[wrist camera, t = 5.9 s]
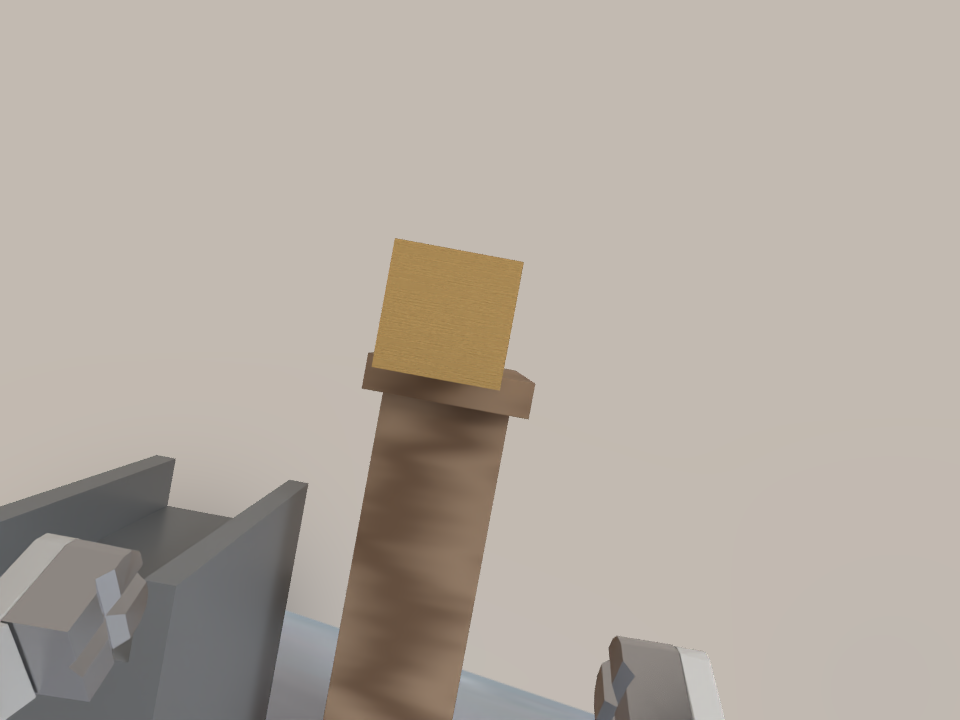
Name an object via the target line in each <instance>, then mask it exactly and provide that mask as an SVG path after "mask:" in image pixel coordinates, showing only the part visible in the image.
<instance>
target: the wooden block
mask: <svg viewBox="0 0 960 720" xmlns="http://www.w3.org/2000/svg"><path fill="white" fill-rule="evenodd" d="M522 269H523V262H520V261H515V260H509V259H504V258H499V257H493V256H487V255H483V254H477V253H471V252H466V251H461V250H455V249H450V248H445V247H440V246H434V245H429V244H423V243H417V242H413V241H407V240H402V239H397V238H395V241H394V247H393V253H392V258H391V263H390V269H389V275H388V280H387V285H386V291H385V297H384V302H383V308H382V313H381V318H380V323H379V330H378V334H377V340H376V345H375V351H374V356H373V362H372V367H375V368H380V369H386V370H391V371H396V372H402V373H407V374H413V375H418V376H423V377H429V378H434V379H439V380H445V381H450V382H456V383H461V384H466V385H472V386H477V387H482V388H488V389H493V390H499V391H500V387H501V382H502V376H503V371H504V365H505V360H506V355H507V349H508V344H509V339H510V333H511V328H512V323H513V317H514V312H515V307H516V301H517V295H518V290H519V285H520V279H521V274H522Z"/></svg>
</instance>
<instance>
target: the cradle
mask: <svg viewBox="0 0 960 720" xmlns="http://www.w3.org/2000/svg"><path fill="white" fill-rule="evenodd" d="M174 465H175V459H174V458H169V457H163V456H158V455H156V456H153V457H150V458H147V459H144V460H141V461H138V462H135V463H131V464H128V465H126V466H122V467H119V468H116V469H113V470H110V471H107V472H104V473H101V474H98V475H95V476H92V477H89V478H86V479H83V480H80V481H77V482H74V483H71V484H68V485H65V486H61V487H58V488H56V489H52V490H49V491H46V492H43V493H40V494H37V495H34V496H31V497H28V498H25V499H22V500H19V501H16V502H13V503H10V504H7V505H4V506H1V507H0V577H1V576H2V575H3V574H4V573H5V572H6V571H7V570H8V568H9V567H10V566H11V565H12V564H13V563H14V562H15V561H16V560H17V559H18V558H19V557H20V556H21V554H22V553H23V552H24V551H25V550H26V549H27V548H28V547H29V546H30V545H31V544H32V543H33V542H34V541H35V540H36V539H37V538H39V537H41V536H43V535H45V534H46V533H50V534H56V535H61V536H67V537H72V538H78V539H81V540H86V541H91V542H96V543H102V544H107V545H112V546H117V547H122V548H127V549H132V550H137V551H140V554H141V558H142V562H143V565H142V567H141V568H140V570H139V571H138V574H139V575H140V576H141V577H142V578H143V579H144V580H145V581H146V582H147V588H148V598H147V605H146V608H145V611H144V613H143V616H142V619H141V621H140V623H139V625H138V627H137V628H136V630H135V631H134V633H133V635H132V636H131V638H130V639H128V640H127V641H125V642H123V643H122V644H120V645H119V646H117V647H115V648H114V649H113V653H114V665H113V666H112V668H111V669H110V671H109V672H108V674H107V675H106V677H105V679H104V680H103V682H102V683H101V685H100V686H99V688H98V689H97V691H96V693H95V694H94V696H93V697H92V699H91V700H90V702H87V701H80V700H73V699H67V698H60V697H53V696H47V695H40V694H35V695H36V698H34V699H33V700H32V701H30V702H29V703H28V704H26V705H25V706H24V707H22V708H21V709H19V710H18V711H17V712H15V713H14V714H13V715H11V716H10V717H9V718H7V719H6V720H265V719H266V714H267V708H268V703H269V697H270V692H271V686H272V681H273V675H274V670H275V664H276V659H277V653H278V648H279V642H280V637H281V631H282V626H283V620H284V615H285V609H286V603H287V598H288V592H289V586H290V581H291V576H292V570H293V565H294V559H295V553H296V548H297V542H298V537H299V532H300V526H301V520H302V515H303V509H304V504H305V498H306V493H307V488H308V483H303V482H298V481H293V480H288V481H287V482H286V483H284V484H283V485H281V486H280V487H278V488H277V489H275V490H274V491H272V492H271V493H269V494H268V495H266V496H265V497H264V498H262V499H261V500H259V501H258V502H256V503H255V504H253V505H252V506H250V507H249V508H247V509H246V510H245V511H243V512H242V513H240V514H239V515H237V516H236V517H234V518H229V517H224V516H218V515H213V514H208V513H202V512H197V511H191V510H186V509H181V508H175V507H170V506H167V504H168V499H169V493H170V487H171V481H172V476H173V470H174Z"/></svg>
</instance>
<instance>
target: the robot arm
mask: <svg viewBox="0 0 960 720" xmlns="http://www.w3.org/2000/svg"><path fill="white" fill-rule="evenodd" d="M142 565H143V562H142V558H141V554H140V551H137V550H132V549H127V548H122V547H117V546H112V545H107V544H102V543H96V542H91V541H86V540H81V539H78V538H72V537H67V536H61V535H56V534H50V533H46V534H45V535H43V536H41V537H39V538H37V539H36V540H35V541H34V542H33V543H32V544H31V545H30V546H29V547H28V548H27V549H26V550H25V551H24V552H23V553H22V554H21V556H20V557H19V558H18V559H17V560H16V561H15V562H14V563H13V564H12V565H11V566H10V567H9V568H8V570H7V571H6V572H5V573H4V574H3V575H2V576H1V577H0V720H6V719H7V718H9V717H10V716H11V715H13V714H14V713H15V712H17V711H18V710H19V709H21V708H22V707H24V706H25V705H26V704H28V703H29V702H30V701H32V700H33V699H34V698H36V695H35V694H40V695H47V696H53V697H60V698H67V699H73V700H80V701H87V702H90V700H91V699H92V697H93V696H94V694H95V693H96V691H97V689H98V688H99V686H100V685H101V683H102V682H103V680H104V679H105V677H106V675H107V674H108V672H109V671H110V669H111V668H112V666H113V665H114V653H113V649H114V648H115V647H117V646H119V645H120V644H122V643H123V642H125V641H127V640H128V639H130V638H131V636H132V635H133V633H134V631H135V630H136V628H137V627H138V625H139V623H140V621H141V619H142V616H143V613H144V611H145V608H146V605H147V598H148V588H147V582H146V581H145V580H144V579H143V578H142V577H141V576H140V575H139V574H138V571H139V570H140V568H141V567H142ZM609 657H610V660H608V661H606V662H604V663H603V664H602V665H601V667H600V670H599V673H598V675H597V681H596V686H595V695H594V711H595V720H725V718H724V714H723V710H722V707H721V702H720V698H719V694H718V690H717V686H716V682H715V678H714V674H713V670H712V666H711V662H710V658H709V657H708V656H707V654H706V652H704V651H701V650H694V649H687V648H682V647H675V646H673V645H670V644H663V643H658V642H651V641H645V640H640V639H633V638H627V637H620V636H616V637H615V638H613V640H612V642H611V644H610V646H609Z"/></svg>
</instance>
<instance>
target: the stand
mask: <svg viewBox="0 0 960 720" xmlns="http://www.w3.org/2000/svg"><path fill="white" fill-rule="evenodd" d="M373 356H374V352H373V353H368V357H367V363H366V369H365V374H364V379H363V385H362V389H368V390H373V391H379V392H383V395H382V401H381V406H380V412H379V417H378V423H377V428H376V434H375V439H374V445H373V450H372V456H371V461H370V466H369V472H368V478H367V484H366V488H365V494H364V499H363V505H362V510H361V516H360V522H359V527H358V532H357V537H356V543H355V548H354V554H353V559H352V565H351V570H350V576H349V581H348V588H347V592H346V598H345V603H344V608H343V614H342V620H341V625H340V630H339V636H338V641H337V647H336V652H335V658H334V663H333V669H332V674H331V679H330V685H329V690H328V696H327V701H326V707H325V712H324V718H323V720H452V718H453V713H454V708H455V702H456V697H457V692H458V686H459V681H460V676H461V670H462V665H463V659H464V654H465V649H466V643H467V638H468V633H469V628H470V622H471V617H472V612H473V606H474V601H475V595H476V590H477V584H478V579H479V574H480V569H481V563H482V558H483V552H484V547H485V542H486V537H487V531H488V526H489V521H490V515H491V510H492V505H493V499H494V493H495V489H496V483H497V478H498V472H499V467H500V462H501V457H502V451H503V445H504V441H505V435H506V430H507V425H508V419H509V416H513V417H519V418H524V419H529V414H530V408H531V403H532V397H533V393H534V387H535V383H533V382H532V381H530V380H529V379H527V378H526V377H524V376H523V375H521V374H520V373H518V372H517V371H514V370H509V369H504V371H503V376H502V382H501V387H500V391H499V390H493V389H488V388H482V387H477V386H472V385H466V384H461V383H456V382H450V381H445V380H439V379H434V378H429V377H423V376H418V375H413V374H407V373H402V372H396V371H391V370H386V369H380V368H375V367H372V362H373Z"/></svg>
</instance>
